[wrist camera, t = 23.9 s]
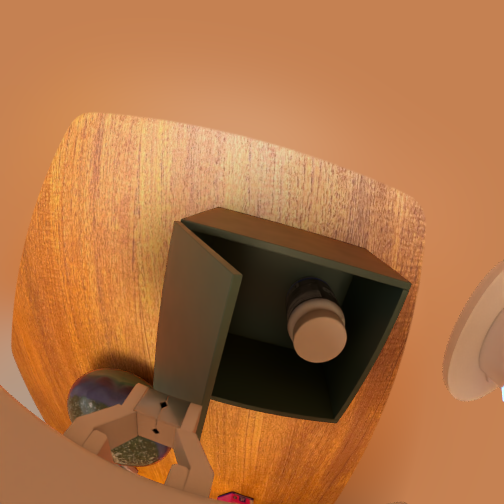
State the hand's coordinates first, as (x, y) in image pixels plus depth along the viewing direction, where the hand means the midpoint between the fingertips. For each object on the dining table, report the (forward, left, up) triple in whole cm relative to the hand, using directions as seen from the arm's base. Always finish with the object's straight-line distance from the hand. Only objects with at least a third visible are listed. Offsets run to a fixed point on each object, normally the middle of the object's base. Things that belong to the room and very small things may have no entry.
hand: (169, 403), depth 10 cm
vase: (+16, +18, -18) cm, 30 cm away
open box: (-4, +1, -18) cm, 18 cm away
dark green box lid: (+1, 0, -4) cm, 4 cm away
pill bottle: (-8, +2, -17) cm, 19 cm away
